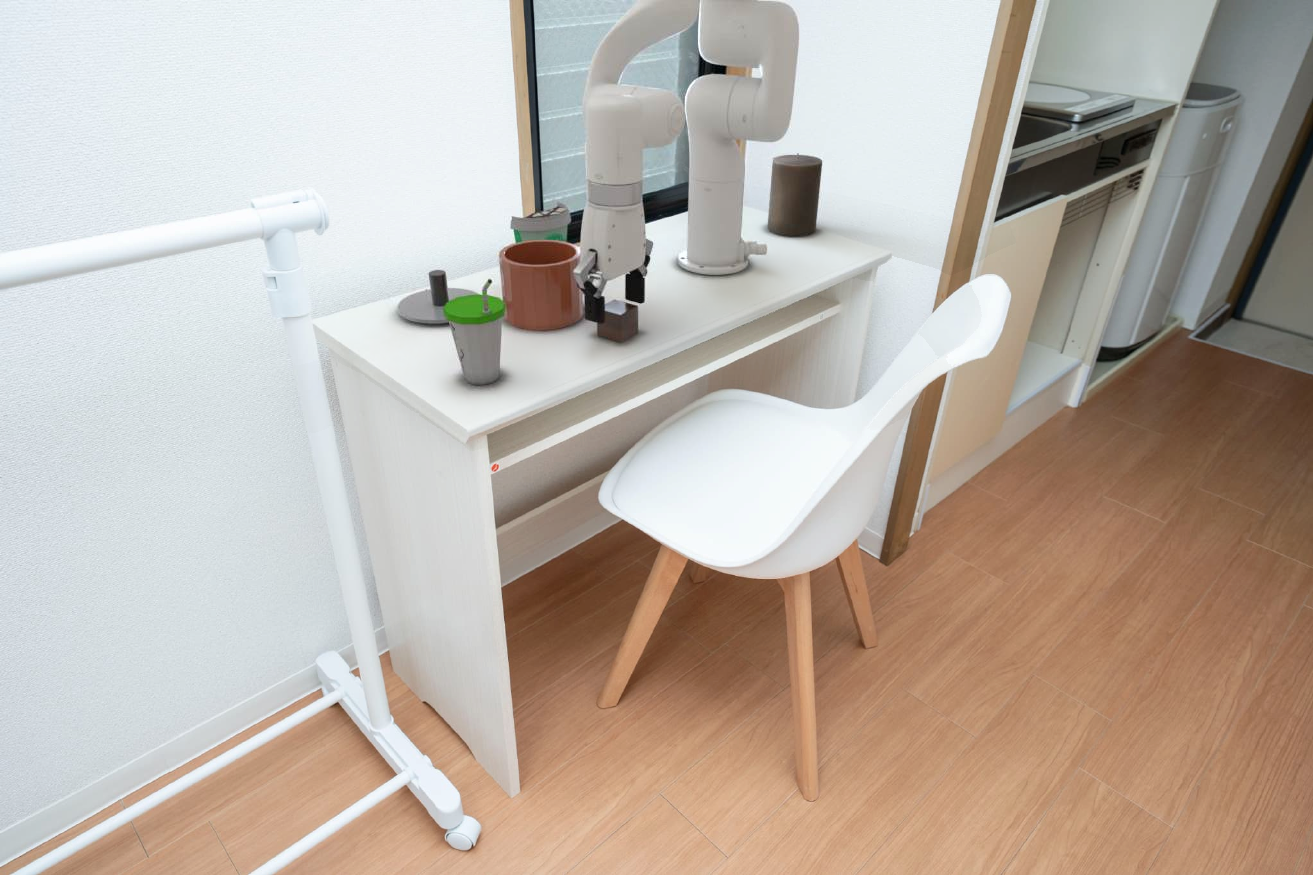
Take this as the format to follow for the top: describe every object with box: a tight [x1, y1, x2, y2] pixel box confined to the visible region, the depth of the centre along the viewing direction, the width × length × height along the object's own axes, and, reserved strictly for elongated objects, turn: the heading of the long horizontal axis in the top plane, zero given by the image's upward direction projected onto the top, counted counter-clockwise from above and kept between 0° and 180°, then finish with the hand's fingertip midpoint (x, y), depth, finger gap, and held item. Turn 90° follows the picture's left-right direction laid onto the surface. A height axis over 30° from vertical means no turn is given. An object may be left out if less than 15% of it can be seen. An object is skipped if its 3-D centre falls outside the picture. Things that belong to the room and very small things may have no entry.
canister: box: [498, 240, 584, 331], centre depth 130 cm, size 12×12×10 cm
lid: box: [397, 269, 481, 324], centre depth 132 cm, size 13×13×6 cm
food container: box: [509, 201, 572, 243], centre depth 148 cm, size 12×6×10 cm, turn 143°
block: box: [596, 299, 639, 344], centre depth 125 cm, size 4×4×4 cm
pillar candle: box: [767, 152, 823, 237], centre depth 167 cm, size 10×10×15 cm
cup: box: [443, 278, 506, 386], centre depth 110 cm, size 8×8×15 cm
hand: (615, 311), depth 123 cm, fingers open, 9 cm apart
